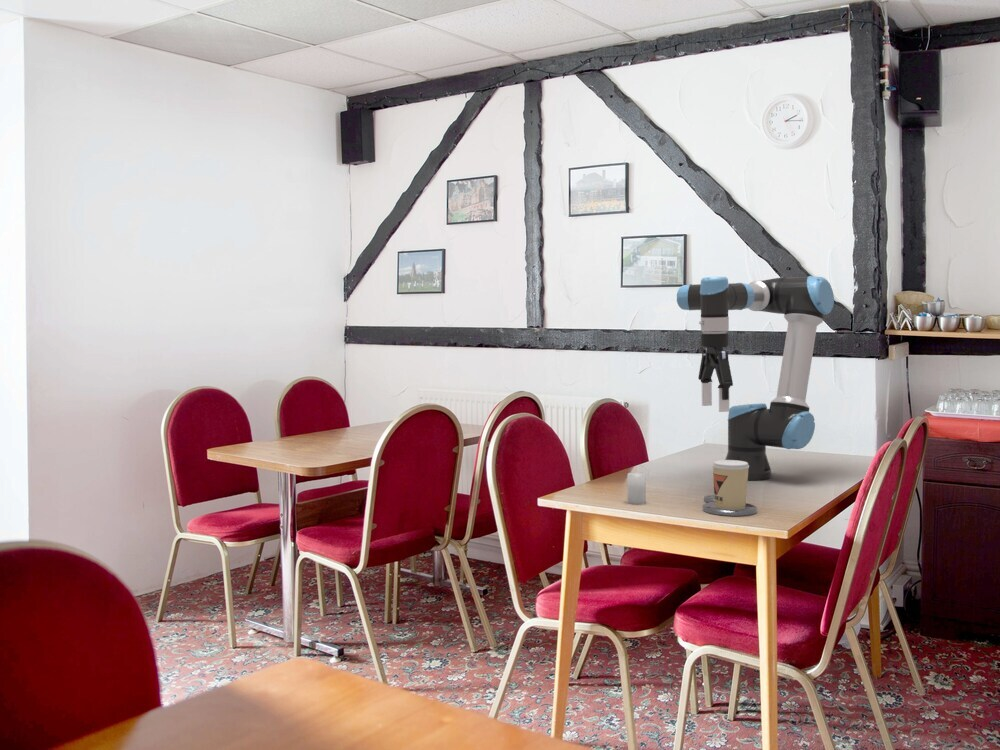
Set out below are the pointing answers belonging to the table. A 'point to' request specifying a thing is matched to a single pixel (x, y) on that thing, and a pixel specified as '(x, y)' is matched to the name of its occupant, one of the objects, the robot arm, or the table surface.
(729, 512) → the disc
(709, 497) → the flange small
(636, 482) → the grey cylinder
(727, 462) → the coffee cup
